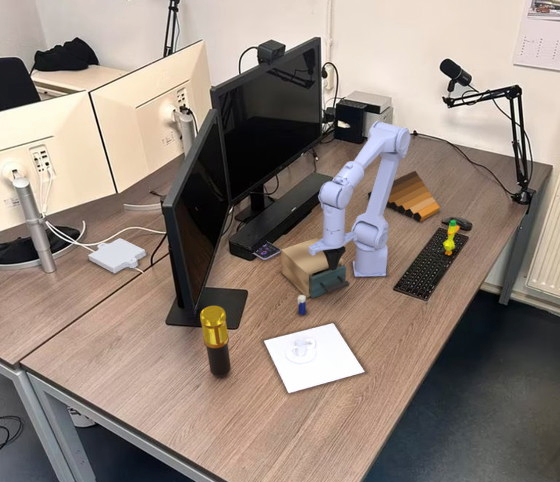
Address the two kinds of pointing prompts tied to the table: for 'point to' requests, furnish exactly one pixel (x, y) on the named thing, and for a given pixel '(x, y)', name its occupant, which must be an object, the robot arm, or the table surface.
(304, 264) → the cabinet
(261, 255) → the smartphone
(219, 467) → the table surface
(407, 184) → the pan flute
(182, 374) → the table surface
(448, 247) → the toy figure
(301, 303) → the pen
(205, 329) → the gold capped bottle
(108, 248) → the mounting plate
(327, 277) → the drawer
